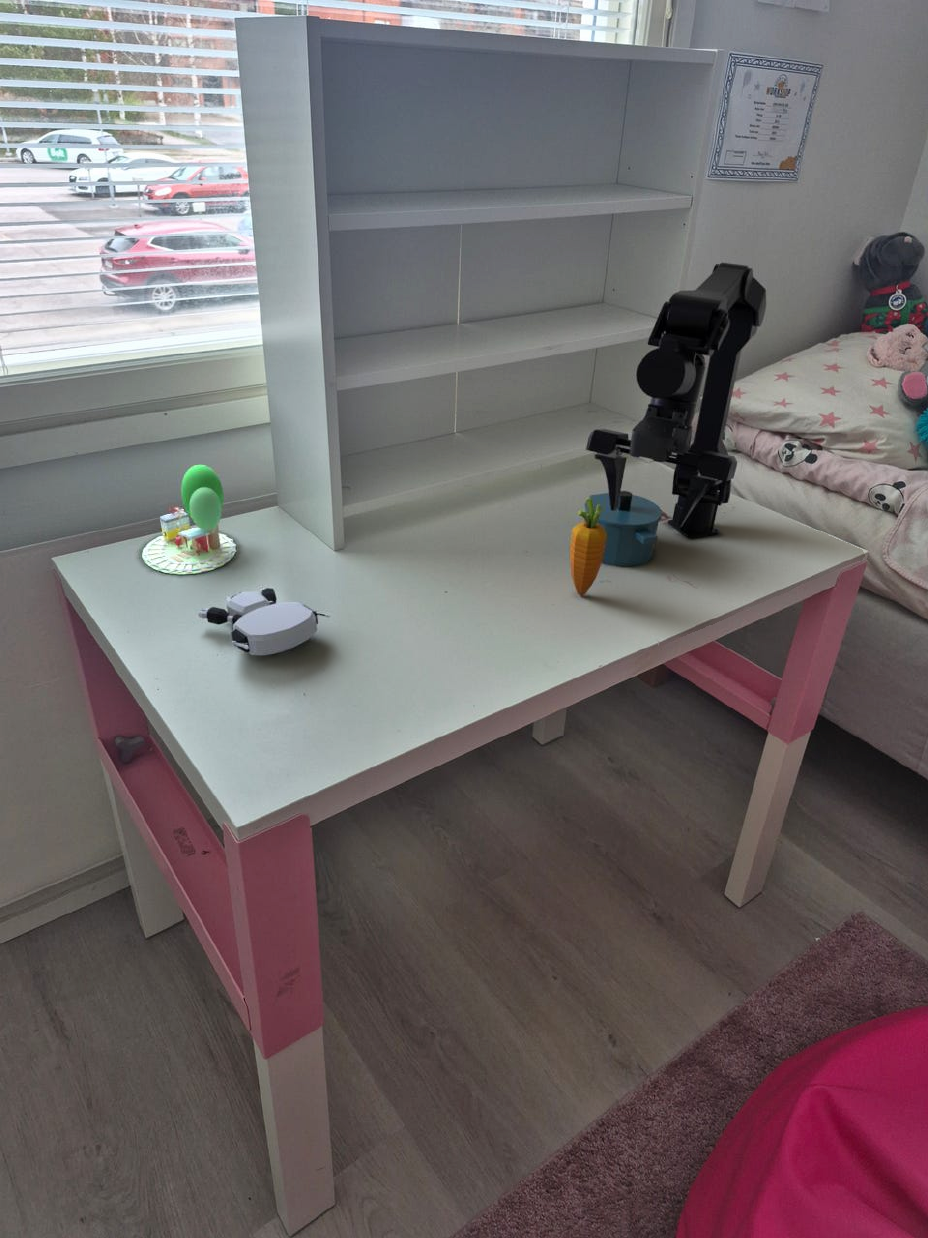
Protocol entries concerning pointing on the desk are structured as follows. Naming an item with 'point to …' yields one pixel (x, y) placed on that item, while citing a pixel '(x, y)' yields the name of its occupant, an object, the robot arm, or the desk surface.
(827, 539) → the desk surface
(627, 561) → the pot
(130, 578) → the desk surface
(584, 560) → the carrot
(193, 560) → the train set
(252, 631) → the robot toy
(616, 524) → the pot lid
